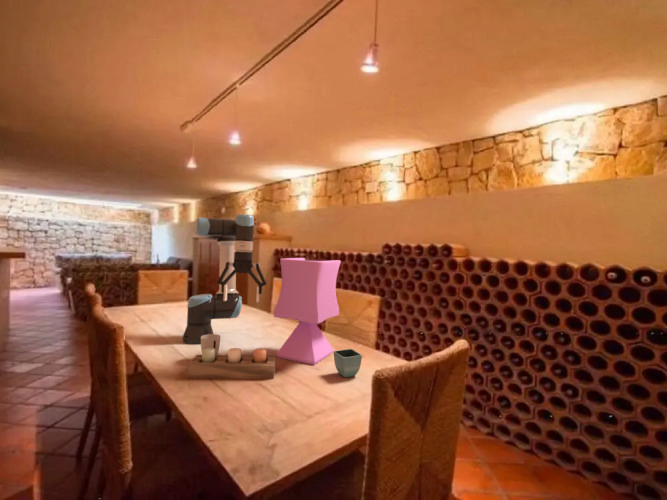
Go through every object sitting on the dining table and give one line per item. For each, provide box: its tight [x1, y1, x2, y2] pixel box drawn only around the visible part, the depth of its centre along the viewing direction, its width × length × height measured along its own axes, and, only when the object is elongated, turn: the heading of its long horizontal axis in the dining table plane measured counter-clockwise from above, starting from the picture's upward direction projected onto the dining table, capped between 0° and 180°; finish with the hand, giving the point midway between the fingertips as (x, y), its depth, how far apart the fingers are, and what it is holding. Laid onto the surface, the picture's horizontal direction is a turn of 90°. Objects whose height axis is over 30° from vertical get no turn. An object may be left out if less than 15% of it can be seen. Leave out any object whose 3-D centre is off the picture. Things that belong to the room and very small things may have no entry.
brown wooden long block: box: [186, 354, 277, 380], centre depth 134 cm, size 12×32×5 cm, turn 96°
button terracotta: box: [253, 348, 267, 363], centre depth 135 cm, size 5×5×5 cm
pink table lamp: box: [273, 257, 341, 366], centre depth 158 cm, size 22×22×45 cm
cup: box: [200, 333, 221, 355], centre depth 147 cm, size 8×8×10 cm
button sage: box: [201, 348, 215, 363], centre depth 133 cm, size 5×5×5 cm
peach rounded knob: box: [227, 347, 242, 363], centre depth 134 cm, size 5×5×5 cm
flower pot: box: [333, 348, 363, 378], centre depth 136 cm, size 9×9×9 cm
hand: (241, 301), depth 143 cm, fingers open, 13 cm apart
